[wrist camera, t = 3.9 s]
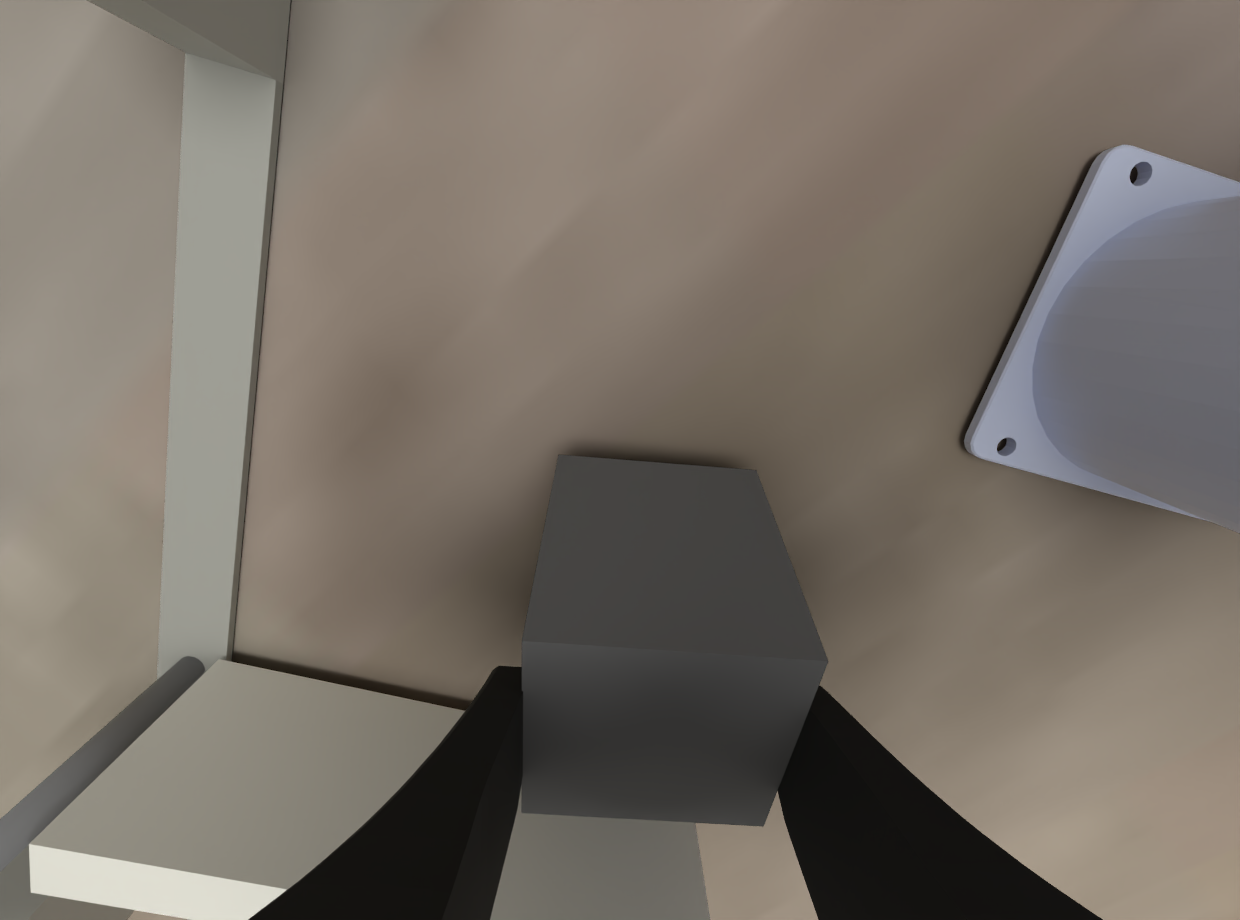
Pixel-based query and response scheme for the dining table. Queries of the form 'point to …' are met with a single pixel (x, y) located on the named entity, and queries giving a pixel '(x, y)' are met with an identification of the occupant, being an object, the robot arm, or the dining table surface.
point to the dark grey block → (662, 647)
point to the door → (320, 812)
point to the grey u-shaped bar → (191, 385)
